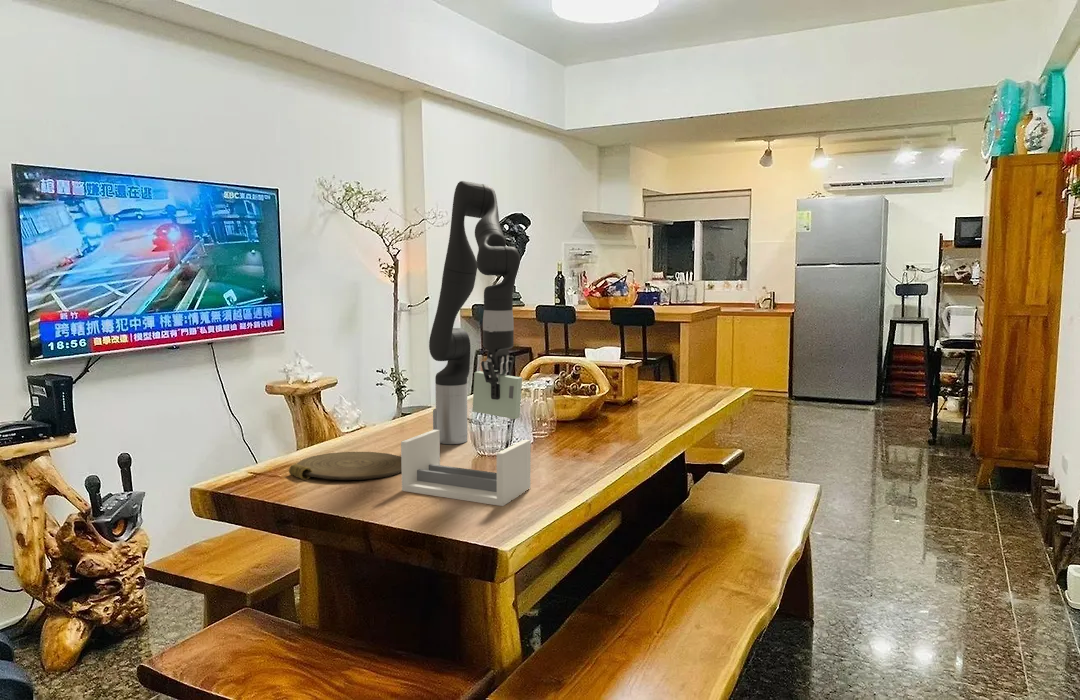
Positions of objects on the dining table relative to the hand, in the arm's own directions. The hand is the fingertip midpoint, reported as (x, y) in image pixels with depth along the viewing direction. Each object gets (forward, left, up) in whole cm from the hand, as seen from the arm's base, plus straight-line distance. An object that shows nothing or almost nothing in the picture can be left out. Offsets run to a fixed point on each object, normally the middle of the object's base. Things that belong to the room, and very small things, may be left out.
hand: (498, 397), depth 184 cm
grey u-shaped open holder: (0, -16, -19) cm, 25 cm away
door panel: (-1, 0, -4) cm, 4 cm away
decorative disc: (-36, -12, -20) cm, 43 cm away
